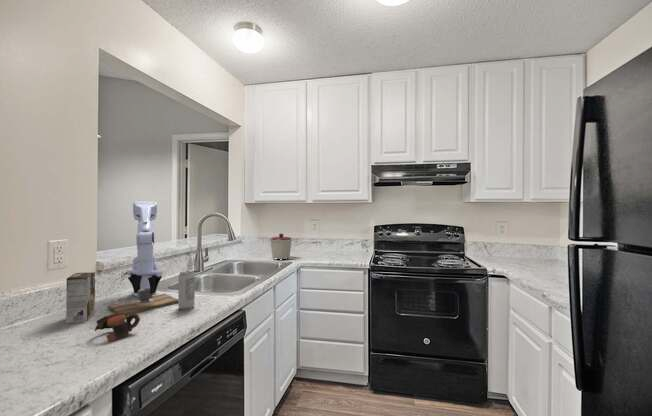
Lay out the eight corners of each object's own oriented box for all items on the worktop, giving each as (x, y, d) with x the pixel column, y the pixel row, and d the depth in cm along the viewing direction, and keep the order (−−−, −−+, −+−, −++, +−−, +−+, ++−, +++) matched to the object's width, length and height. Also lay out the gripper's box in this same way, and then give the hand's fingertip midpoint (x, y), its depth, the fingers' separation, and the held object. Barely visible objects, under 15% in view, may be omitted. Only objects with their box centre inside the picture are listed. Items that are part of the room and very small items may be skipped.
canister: (266, 260, 238) (266, 234, 238) (274, 257, 256) (275, 232, 256) (287, 261, 234) (287, 234, 234) (295, 258, 252) (295, 232, 252)
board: (108, 307, 123) (108, 302, 123) (164, 296, 140) (165, 291, 140) (120, 316, 113) (120, 310, 113) (179, 302, 130) (179, 297, 130)
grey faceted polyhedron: (148, 295, 130) (148, 286, 130) (153, 298, 127) (153, 288, 127) (136, 298, 126) (136, 288, 126) (141, 300, 123) (141, 291, 123)
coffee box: (74, 315, 114) (75, 272, 114) (95, 313, 117) (95, 271, 117) (65, 324, 106) (65, 278, 106) (87, 321, 108) (88, 276, 108)
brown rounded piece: (96, 347, 89) (89, 320, 91) (102, 349, 97) (96, 324, 99) (142, 328, 96) (135, 304, 98) (145, 332, 103) (138, 309, 105)
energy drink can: (187, 304, 128) (188, 269, 128) (197, 306, 125) (198, 270, 125) (175, 308, 123) (175, 271, 123) (185, 311, 120) (185, 273, 120)
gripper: (122, 261, 124) (122, 294, 124) (153, 262, 121) (153, 296, 121) (135, 258, 131) (135, 290, 131) (165, 259, 128) (165, 291, 128)
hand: (145, 293), depth 126 cm, fingers open, 7 cm apart
